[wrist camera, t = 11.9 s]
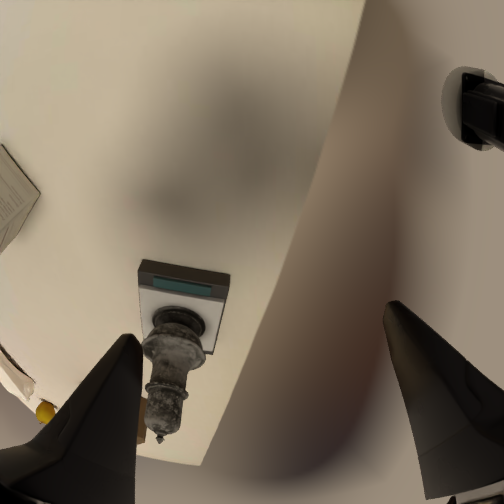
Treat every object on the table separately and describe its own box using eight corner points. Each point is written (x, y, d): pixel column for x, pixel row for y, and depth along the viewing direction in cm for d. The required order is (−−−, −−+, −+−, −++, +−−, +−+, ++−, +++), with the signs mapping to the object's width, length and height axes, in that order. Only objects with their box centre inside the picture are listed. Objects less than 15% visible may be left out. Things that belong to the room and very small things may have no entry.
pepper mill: (218, 336, 27) (212, 453, 17) (168, 345, 28) (151, 450, 18) (191, 297, 23) (170, 433, 14) (137, 310, 24) (105, 428, 15)
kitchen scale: (142, 259, 23) (135, 274, 22) (230, 274, 25) (229, 291, 23) (146, 332, 30) (142, 346, 28) (213, 343, 31) (212, 358, 29)
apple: (38, 398, 54) (31, 420, 47) (42, 397, 52) (35, 420, 45) (55, 408, 57) (49, 430, 50) (61, 407, 55) (54, 430, 48)
